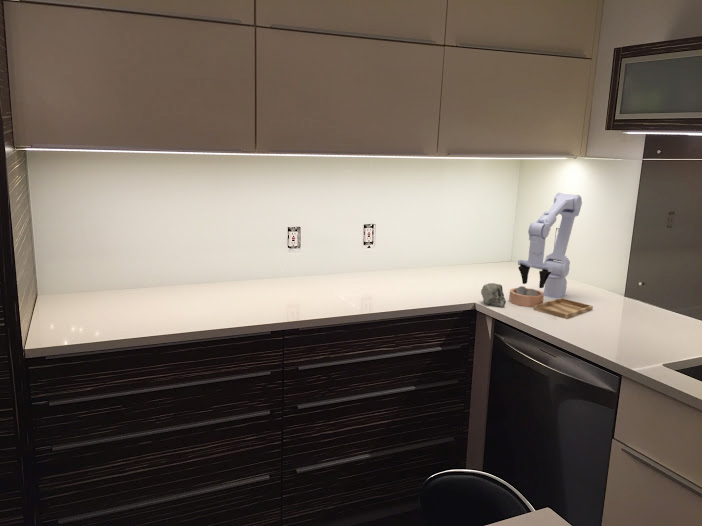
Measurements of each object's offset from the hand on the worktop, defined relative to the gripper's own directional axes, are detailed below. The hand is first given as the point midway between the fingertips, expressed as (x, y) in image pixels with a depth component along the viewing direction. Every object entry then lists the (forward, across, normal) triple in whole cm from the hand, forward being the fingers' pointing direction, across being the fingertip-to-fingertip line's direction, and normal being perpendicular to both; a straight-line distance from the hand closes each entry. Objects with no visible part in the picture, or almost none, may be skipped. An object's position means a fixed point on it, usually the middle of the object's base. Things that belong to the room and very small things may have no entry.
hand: (532, 285), depth 244 cm
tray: (+8, +13, +3) cm, 15 cm away
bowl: (+8, -2, 0) cm, 8 cm away
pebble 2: (+7, 0, 0) cm, 7 cm away
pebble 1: (+7, -5, 0) cm, 9 cm away
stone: (+8, -9, -13) cm, 18 cm away
